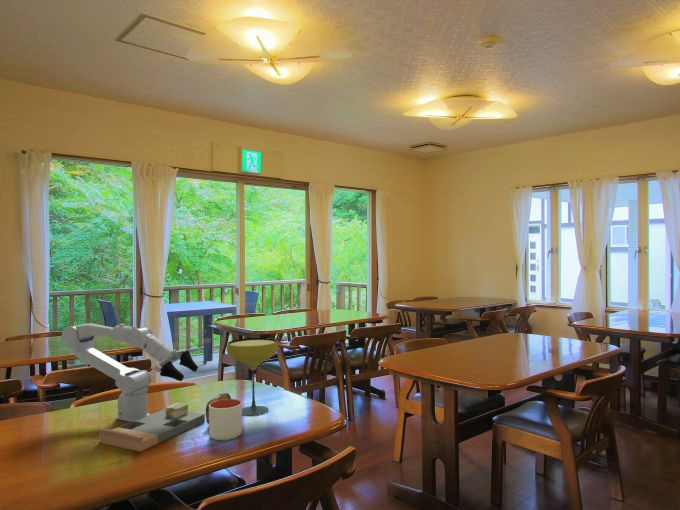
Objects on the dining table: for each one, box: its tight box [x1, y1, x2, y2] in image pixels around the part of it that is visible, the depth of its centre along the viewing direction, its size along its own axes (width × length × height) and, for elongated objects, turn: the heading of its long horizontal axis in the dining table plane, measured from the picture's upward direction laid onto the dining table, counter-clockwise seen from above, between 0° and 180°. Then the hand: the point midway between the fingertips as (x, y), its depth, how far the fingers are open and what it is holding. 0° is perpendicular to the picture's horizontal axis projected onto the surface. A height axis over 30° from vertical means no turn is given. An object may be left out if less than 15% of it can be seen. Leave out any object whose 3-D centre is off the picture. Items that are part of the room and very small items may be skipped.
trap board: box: [99, 408, 206, 452], centre depth 151 cm, size 17×27×4 cm, turn 155°
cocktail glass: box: [226, 337, 279, 417], centre depth 170 cm, size 18×18×25 cm
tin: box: [205, 392, 232, 425], centre depth 160 cm, size 15×3×8 cm, turn 168°
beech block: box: [165, 402, 189, 418], centre depth 159 cm, size 4×6×3 cm
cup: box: [208, 398, 243, 442], centre depth 146 cm, size 10×10×10 cm
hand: (189, 374), depth 160 cm, fingers open, 7 cm apart
